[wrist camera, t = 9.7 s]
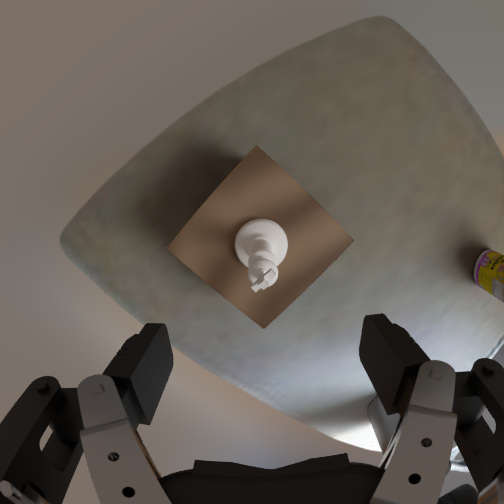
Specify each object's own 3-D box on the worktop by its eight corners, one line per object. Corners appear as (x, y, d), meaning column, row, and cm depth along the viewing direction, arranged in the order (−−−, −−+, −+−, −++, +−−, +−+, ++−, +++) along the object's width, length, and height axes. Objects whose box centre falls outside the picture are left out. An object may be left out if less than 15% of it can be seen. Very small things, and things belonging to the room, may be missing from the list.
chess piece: (298, 246, 26) (321, 286, 16) (260, 279, 27) (261, 335, 17) (262, 207, 25) (266, 226, 15) (224, 243, 26) (205, 283, 16)
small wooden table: (335, 227, 32) (354, 240, 26) (262, 300, 35) (263, 328, 28) (256, 152, 30) (256, 144, 23) (183, 233, 33) (166, 248, 26)
